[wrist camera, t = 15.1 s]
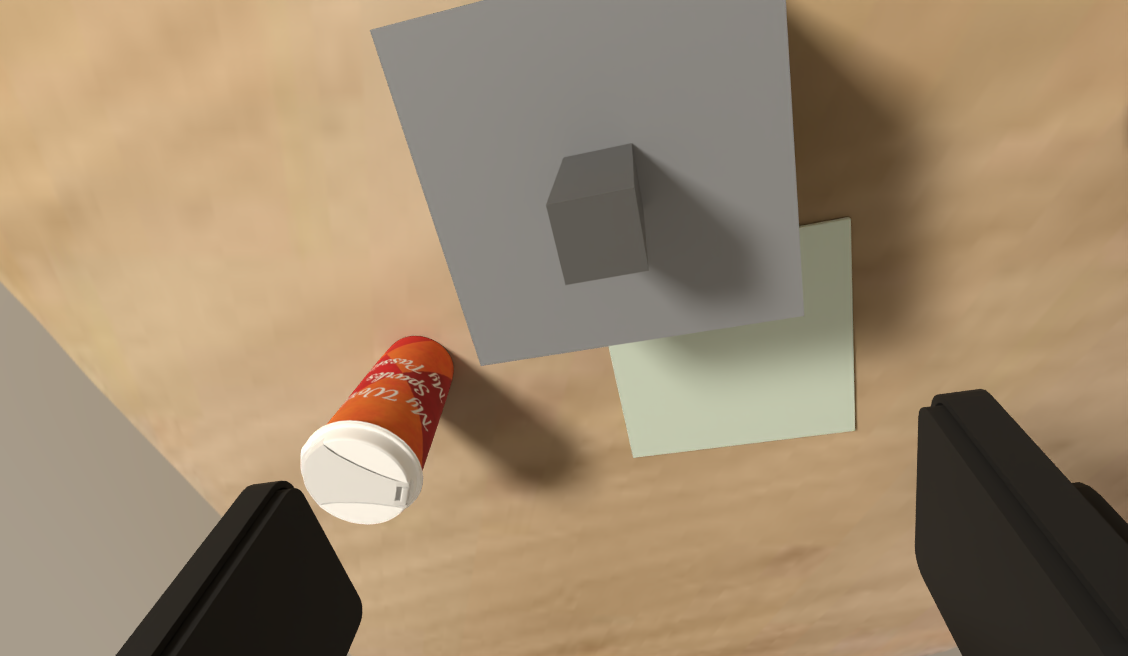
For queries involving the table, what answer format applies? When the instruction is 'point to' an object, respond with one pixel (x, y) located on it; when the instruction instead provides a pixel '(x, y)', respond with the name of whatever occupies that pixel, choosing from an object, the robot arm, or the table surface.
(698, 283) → the grey knobbed cube
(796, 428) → the mat
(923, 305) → the table surface
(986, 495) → the robot arm
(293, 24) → the table surface
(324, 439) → the coffee cup
